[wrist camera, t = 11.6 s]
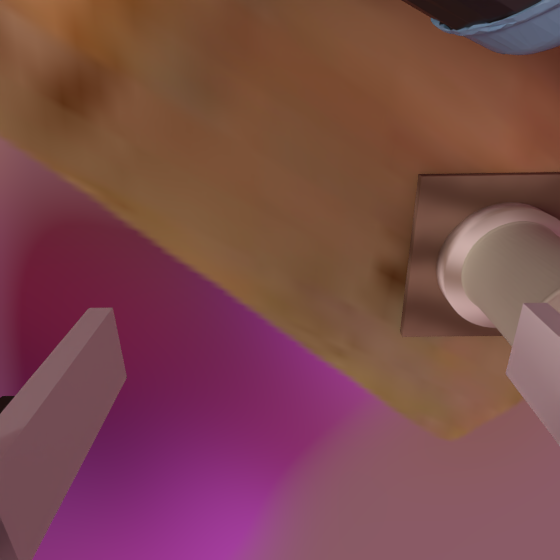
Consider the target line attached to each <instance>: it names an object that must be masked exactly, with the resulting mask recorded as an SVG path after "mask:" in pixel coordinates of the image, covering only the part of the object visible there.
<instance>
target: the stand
mask: <svg viewBox="0 0 560 560" xmlns="http://www.w3.org/2000/svg"><path fill="white" fill-rule="evenodd" d="M518 221H528V222H535V223H538V224H541V225H544V226H546V227H547V228H549V229H551V230H552V231H553V232H554V233H555V234H556V235H557V236H559V237H560V172H543V173H474V174H419V175H418V184H417V193H416V201H415V210H414V218H413V227H412V235H411V244H410V252H409V261H408V269H407V278H406V286H405V295H404V303H403V312H402V321H401V329H400V332H401V335H402V337H421V336H503V335H502V334H501V333H500V332H499V330H498V329H497V328H496V327H495V326H494V324H493V323H492V322H491V321H490V320H489V319H488V317H487V316H486V315H485V314H484V313H483V312H482V311H481V310H480V308H479V307H477V306H476V305H475V304H473V303H472V302H471V301H470V300H469V298H468V297H467V295H466V294H465V291H464V289H463V286H462V280H461V273H462V267H463V263H464V261H465V258H466V256H467V254H468V252H469V251H470V249H471V248H472V247H473V245H474V244H475V243H476V242H477V241H478V240H479V239H480V238H481V237H482V236H484V235H485V234H486V233H488V232H489V231H491V230H493V229H495V228H497V227H499V226H501V225H504V224H507V223H511V222H518Z"/></svg>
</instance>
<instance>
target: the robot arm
mask: <svg viewBox="0 0 560 560" xmlns="http://www.w3.org/2000/svg"><path fill="white" fill-rule="evenodd" d="M402 1H404V2H405V3H407V4H409V5H411V6H412V7H414V8H416V9H417V10H419V11H421V12H422V13H424V14H426V15H428V16H429V17H431V21H432V23H433V24H434V25H435V26H436V27H438V28H439V29H441V30H442V31H444V32H446V33H450V34H451V33H452V34H455V35H458V36H464V37H466V38H468V39H470V40H472V41H474V42H476V43H478V44H480V45H482V46H484V47H485V48H487V49H489V50H491V51H494V52H497V53H501V54H513V55H528V54H534V53H537V52H541V51H545V50H549V49H552V48H554V47H557V46H560V0H402ZM506 375H507V376H508V378H509V379H510V380H511V382H512V383H513V384H514V386H515V387H516V388H517V390H518V391H519V392H520V394H521V395H522V396H523V398H524V399H525V400H526V402H527V403H528V404H529V406H530V407H531V408H532V410H533V411H534V412H535V413H536V415H537V416H538V417H539V419H540V420H541V421H542V423H543V424H544V425H545V427H546V428H547V430H548V431H549V432H550V433H551V435H552V436H553V437H554V439H555V440H556V441H557V443H558V444H559V445H560V313H559V312H558V311H556V310H555V309H554V308H553V307H552V306H550V305H549V304H548V303H523V306H522V310H521V314H520V318H519V322H518V326H517V330H516V334H515V338H514V342H513V346H512V350H511V354H510V358H509V362H508V366H507V370H506ZM126 378H127V377H126V372H125V367H124V362H123V357H122V352H121V347H120V342H119V338H118V332H117V327H116V322H115V317H114V312H113V308H89V309H88V310H87V311H86V312H85V313H84V315H83V316H82V317H81V318H80V319H79V321H78V322H77V323H76V324H75V325H74V327H73V328H72V329H71V330H70V331H69V333H68V334H67V335H66V336H65V337H64V338H63V340H62V341H61V342H60V343H59V344H58V346H57V347H56V348H55V349H54V350H53V352H52V353H51V354H50V355H49V356H48V358H47V359H46V360H45V361H44V362H43V363H42V365H41V366H40V367H39V368H38V369H37V371H36V372H35V373H34V374H33V376H32V377H31V378H30V379H29V380H28V381H27V383H26V384H25V385H24V386H23V387H22V389H21V390H20V391H19V392H18V393H17V395H16V396H2V397H1V398H0V560H32V559H33V557H34V555H35V553H36V551H37V549H38V547H39V545H40V543H41V541H42V539H43V538H44V536H45V534H46V532H47V530H48V528H49V526H50V524H51V522H52V520H53V518H54V516H55V514H56V513H57V511H58V509H59V507H60V505H61V503H62V501H63V499H64V497H65V495H66V493H67V491H68V489H69V488H70V486H71V484H72V482H73V480H74V478H75V476H76V474H77V472H78V470H79V468H80V466H81V464H82V463H83V460H84V459H85V457H86V455H87V453H88V451H89V449H90V447H91V445H92V443H93V441H94V439H95V437H96V436H97V433H98V431H99V430H100V428H101V426H102V424H103V422H104V420H105V418H106V416H107V414H108V412H109V411H110V409H111V407H112V405H113V403H114V401H115V399H116V397H117V395H118V393H119V391H120V389H121V387H122V385H123V383H124V382H125V380H126Z"/></svg>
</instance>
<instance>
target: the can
mask: <svg viewBox="0 0 560 560" xmlns="http://www.w3.org/2000/svg"><path fill="white" fill-rule="evenodd" d="M461 280H462V286H463V289H464V291H465V294H466V295H467V297H468V298H469V300H470V301H471V302H472V303H473V304H475V305H476V306H477V307H479V308H480V310H481V311H482V312H483V313H484V314H485V315H486V316H487V317H488V319H489V320H490V321H491V322H492V323H493V324H494V326H495V327H496V328H497V329H498V330H499V332H500V333H501V334H502V335H503V336H504V338H505V339H506V340H507V341H508V342H509V344H510V345H511V346H513V342H514V338H515V334H516V330H517V326H518V322H519V318H520V314H521V310H522V306H523V303H548V304H549V305H550V306H552V307H553V308H554V309H555V310H556V311H558V312H559V313H560V237H559V236H557V235H556V234H555V233H554V232H553V231H552V230H551V229H549V228H547V227H546V226H544V225H541V224H538V223H535V222H528V221H518V222H511V223H507V224H504V225H501V226H499V227H497V228H495V229H493V230H491V231H489V232H488V233H486V234H485V235H484V236H482V237H481V238H480V239H479V240H478V241H477V242H476V243H475V244H474V245H473V247H472V248H471V249H470V251H469V252H468V254H467V256H466V258H465V261H464V263H463V267H462V273H461Z"/></svg>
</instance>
